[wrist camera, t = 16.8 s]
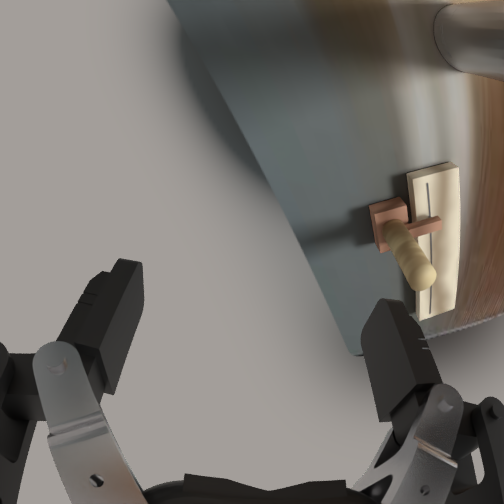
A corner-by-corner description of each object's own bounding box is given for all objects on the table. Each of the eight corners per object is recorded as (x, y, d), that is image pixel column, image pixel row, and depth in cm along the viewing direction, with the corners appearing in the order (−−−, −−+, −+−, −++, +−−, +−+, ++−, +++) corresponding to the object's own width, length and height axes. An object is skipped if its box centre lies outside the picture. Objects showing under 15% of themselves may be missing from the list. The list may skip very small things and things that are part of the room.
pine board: (450, 161, 35) (458, 167, 33) (450, 300, 48) (454, 308, 46) (406, 173, 36) (412, 179, 34) (415, 312, 50) (419, 321, 48)
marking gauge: (426, 189, 37) (474, 239, 27) (428, 226, 40) (470, 282, 30) (368, 205, 39) (403, 263, 29) (375, 242, 42) (405, 305, 32)
